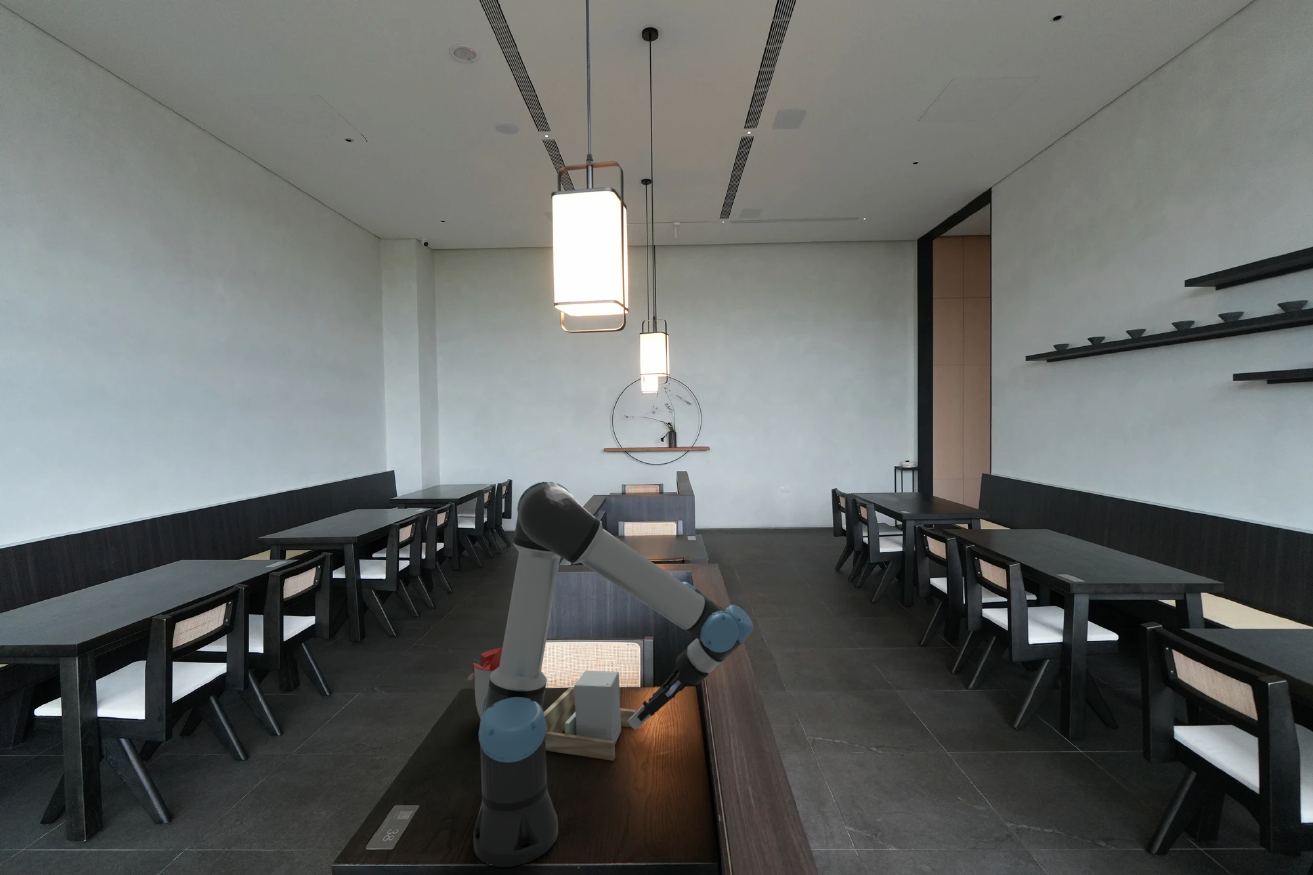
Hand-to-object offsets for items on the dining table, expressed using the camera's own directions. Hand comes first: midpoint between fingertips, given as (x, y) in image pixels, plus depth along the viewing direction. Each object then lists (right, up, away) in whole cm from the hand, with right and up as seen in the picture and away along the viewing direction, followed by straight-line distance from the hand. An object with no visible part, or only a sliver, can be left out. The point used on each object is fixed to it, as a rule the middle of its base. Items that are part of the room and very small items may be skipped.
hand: (632, 724), depth 140 cm
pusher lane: (-10, -5, +3) cm, 12 cm away
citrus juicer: (-34, -5, +12) cm, 36 cm away
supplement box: (-8, -5, +2) cm, 10 cm away
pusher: (-13, -4, +4) cm, 14 cm away
